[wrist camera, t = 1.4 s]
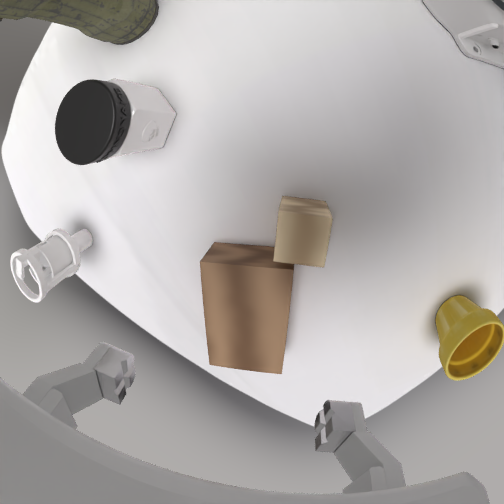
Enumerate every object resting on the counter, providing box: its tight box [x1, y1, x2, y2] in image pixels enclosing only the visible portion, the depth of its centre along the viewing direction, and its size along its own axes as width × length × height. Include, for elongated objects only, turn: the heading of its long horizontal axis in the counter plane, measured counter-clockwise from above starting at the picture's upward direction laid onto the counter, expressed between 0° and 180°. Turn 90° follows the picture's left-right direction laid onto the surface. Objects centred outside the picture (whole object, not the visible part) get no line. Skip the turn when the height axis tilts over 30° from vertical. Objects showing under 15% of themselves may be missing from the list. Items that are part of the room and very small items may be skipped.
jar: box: [55, 79, 176, 165], centre depth 25 cm, size 9×8×12 cm
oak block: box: [273, 196, 333, 267], centre depth 29 cm, size 5×5×7 cm
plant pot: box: [435, 295, 504, 380], centre depth 29 cm, size 10×10×10 cm
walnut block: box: [200, 242, 294, 374], centre depth 35 cm, size 10×16×6 cm, turn 179°
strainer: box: [11, 229, 93, 302], centre depth 31 cm, size 7×7×15 cm
